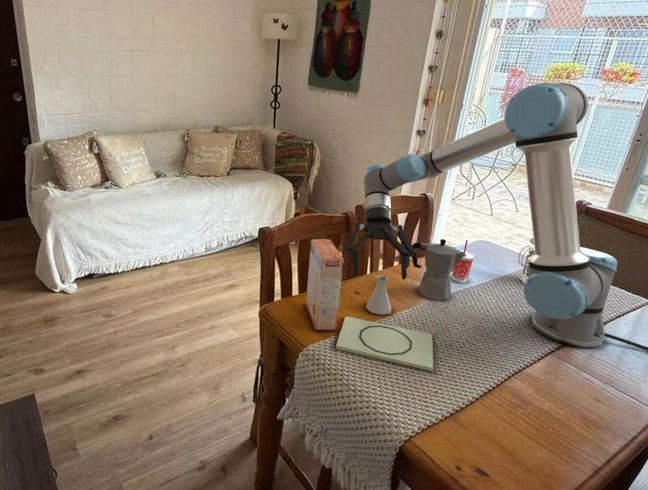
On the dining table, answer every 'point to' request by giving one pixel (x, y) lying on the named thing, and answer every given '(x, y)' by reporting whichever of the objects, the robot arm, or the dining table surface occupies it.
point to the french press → (527, 258)
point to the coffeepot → (437, 269)
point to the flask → (379, 298)
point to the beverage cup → (463, 267)
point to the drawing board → (386, 343)
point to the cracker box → (324, 284)
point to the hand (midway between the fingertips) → (379, 276)
